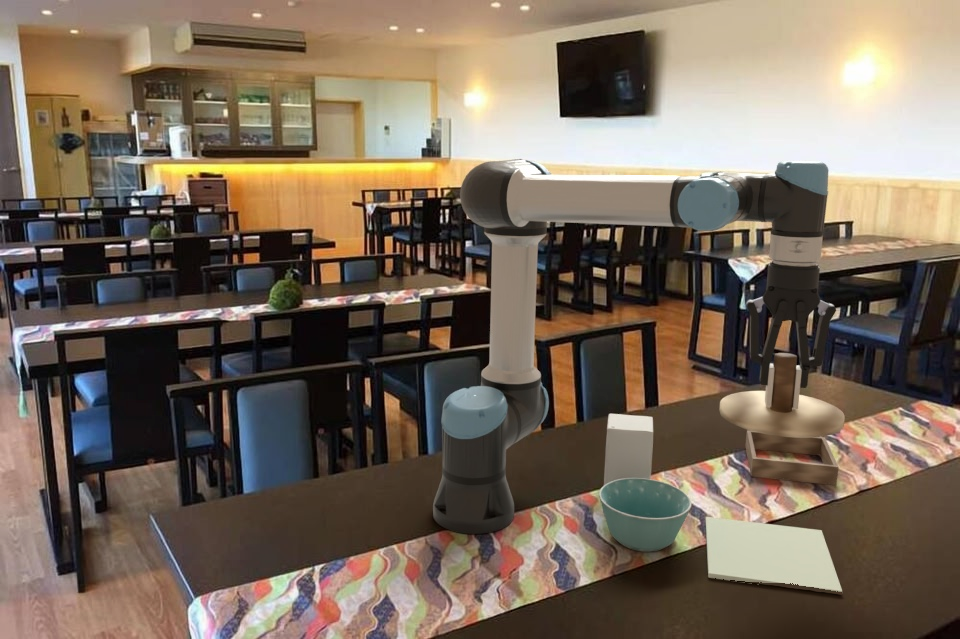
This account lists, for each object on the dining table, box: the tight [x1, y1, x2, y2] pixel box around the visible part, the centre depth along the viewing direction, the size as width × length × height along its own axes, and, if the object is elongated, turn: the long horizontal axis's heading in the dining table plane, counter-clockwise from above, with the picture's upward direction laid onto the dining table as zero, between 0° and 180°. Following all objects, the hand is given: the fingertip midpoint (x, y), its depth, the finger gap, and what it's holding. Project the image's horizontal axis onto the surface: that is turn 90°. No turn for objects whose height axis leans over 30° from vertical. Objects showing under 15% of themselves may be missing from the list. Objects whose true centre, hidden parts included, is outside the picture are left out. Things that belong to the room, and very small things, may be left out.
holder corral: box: [744, 429, 839, 486], centre depth 172 cm, size 17×17×4 cm
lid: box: [719, 352, 846, 438], centre depth 128 cm, size 19×19×10 cm
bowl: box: [598, 478, 692, 553], centre depth 140 cm, size 16×16×8 cm
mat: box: [705, 516, 843, 593], centre depth 136 cm, size 20×20×1 cm
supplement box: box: [603, 413, 654, 486], centre depth 157 cm, size 9×9×15 cm
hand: (781, 404), depth 129 cm, fingers closed on lid, 3 cm apart
